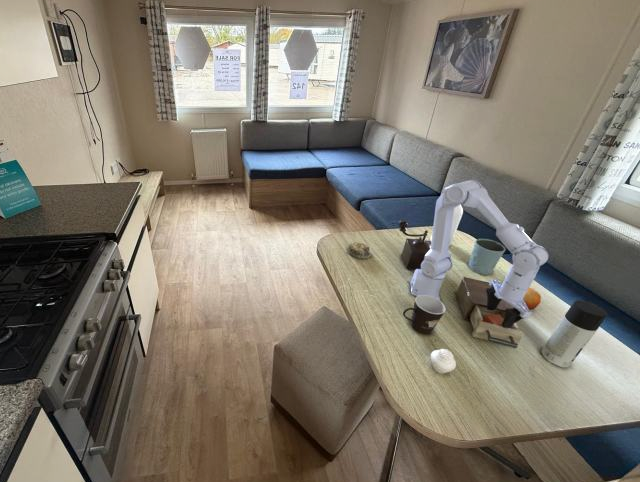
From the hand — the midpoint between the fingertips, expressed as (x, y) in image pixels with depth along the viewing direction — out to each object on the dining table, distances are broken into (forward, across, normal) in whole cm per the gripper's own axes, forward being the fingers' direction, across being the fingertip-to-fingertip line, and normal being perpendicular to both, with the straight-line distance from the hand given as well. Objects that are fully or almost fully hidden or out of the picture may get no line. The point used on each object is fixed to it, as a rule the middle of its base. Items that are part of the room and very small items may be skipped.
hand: (497, 317), depth 96 cm
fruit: (+7, -14, +21) cm, 26 cm away
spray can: (+7, +9, +14) cm, 18 cm away
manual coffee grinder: (+7, -39, -10) cm, 41 cm away
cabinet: (+7, -11, +4) cm, 14 cm away
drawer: (+6, 0, 0) cm, 6 cm away
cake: (+7, -45, -30) cm, 54 cm away
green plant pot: (+7, -36, +19) cm, 42 cm away
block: (+5, 0, 0) cm, 5 cm away
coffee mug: (+7, -2, -23) cm, 24 cm away
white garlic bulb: (+7, +14, -23) cm, 28 cm away
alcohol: (+7, -57, +13) cm, 58 cm away
